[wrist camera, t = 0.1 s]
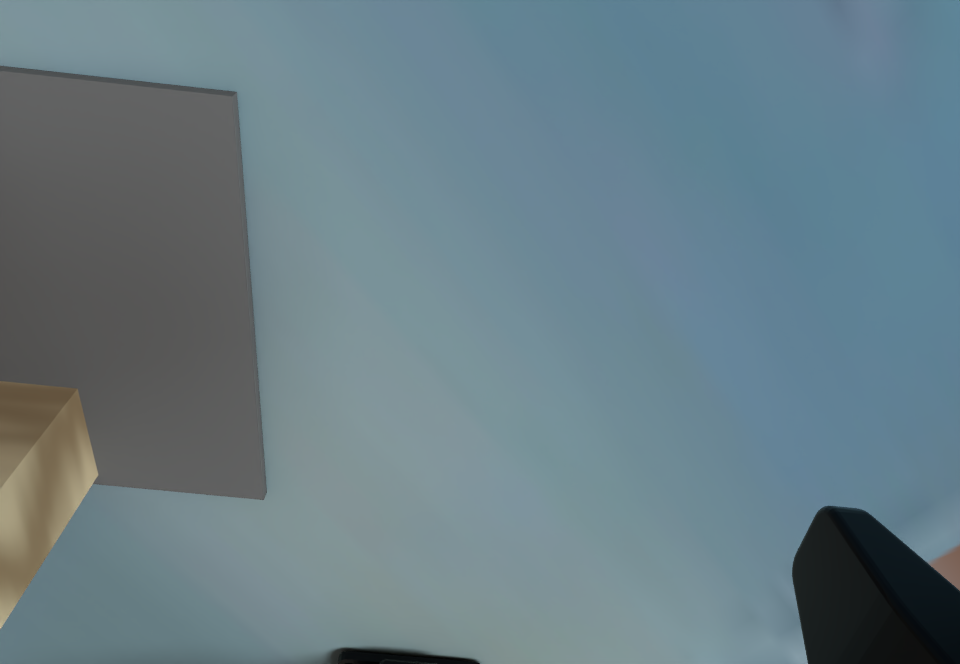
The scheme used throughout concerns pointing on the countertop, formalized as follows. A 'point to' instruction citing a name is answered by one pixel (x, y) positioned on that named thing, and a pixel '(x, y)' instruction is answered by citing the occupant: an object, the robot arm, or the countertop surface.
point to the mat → (133, 274)
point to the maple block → (38, 478)
